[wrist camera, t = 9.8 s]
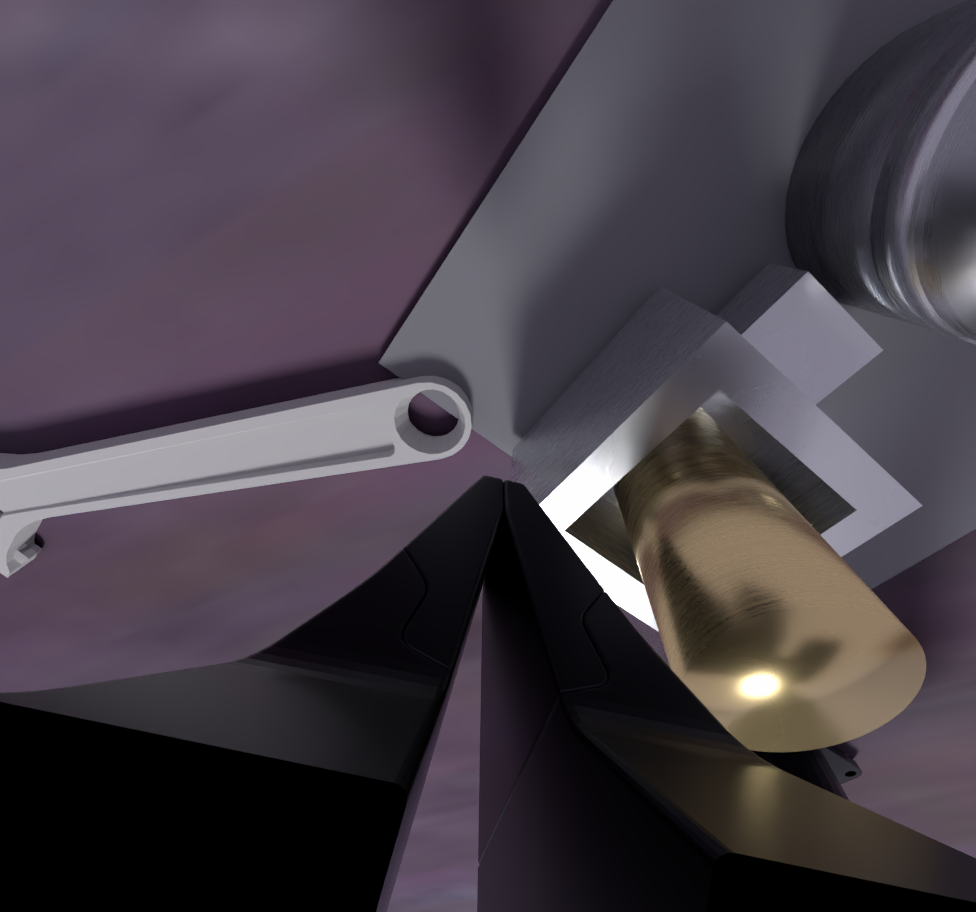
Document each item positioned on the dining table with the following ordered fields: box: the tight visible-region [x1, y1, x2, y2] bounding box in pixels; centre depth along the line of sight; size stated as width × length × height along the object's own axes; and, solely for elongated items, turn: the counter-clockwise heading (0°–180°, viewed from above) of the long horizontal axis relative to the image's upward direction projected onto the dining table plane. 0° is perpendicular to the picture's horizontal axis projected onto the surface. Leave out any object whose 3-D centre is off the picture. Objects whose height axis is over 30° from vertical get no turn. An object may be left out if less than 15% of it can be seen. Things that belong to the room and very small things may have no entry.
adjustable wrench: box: [0, 376, 473, 578], centre depth 16 cm, size 25×6×2 cm, turn 97°
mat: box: [379, 0, 976, 589], centre depth 12 cm, size 19×18×1 cm
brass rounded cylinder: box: [613, 407, 926, 752], centre depth 10 cm, size 3×3×8 cm
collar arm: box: [511, 263, 923, 632], centre depth 9 cm, size 20×6×4 cm, turn 143°
